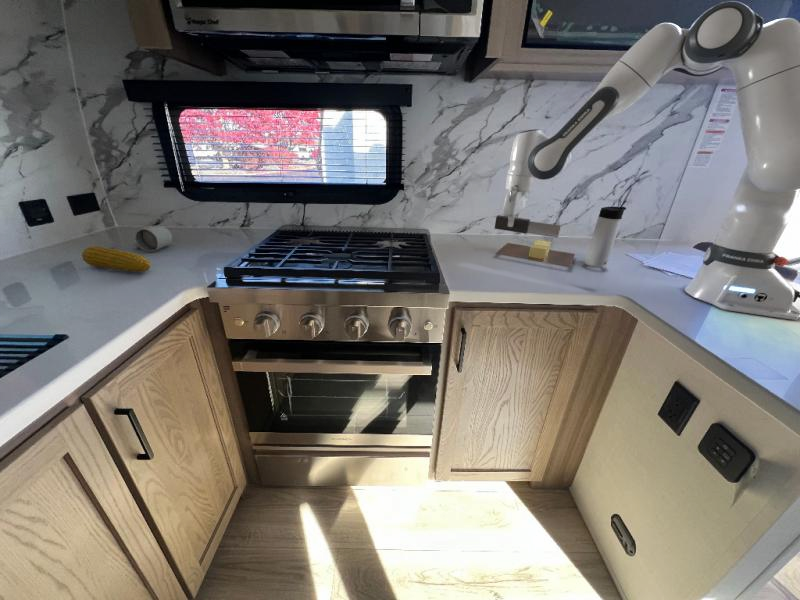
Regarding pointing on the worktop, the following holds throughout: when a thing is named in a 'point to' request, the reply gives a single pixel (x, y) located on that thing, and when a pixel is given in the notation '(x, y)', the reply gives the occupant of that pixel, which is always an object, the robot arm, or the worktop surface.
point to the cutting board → (550, 258)
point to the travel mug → (604, 236)
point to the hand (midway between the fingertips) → (511, 225)
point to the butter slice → (537, 251)
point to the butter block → (543, 244)
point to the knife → (527, 226)
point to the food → (115, 259)
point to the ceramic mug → (153, 238)
